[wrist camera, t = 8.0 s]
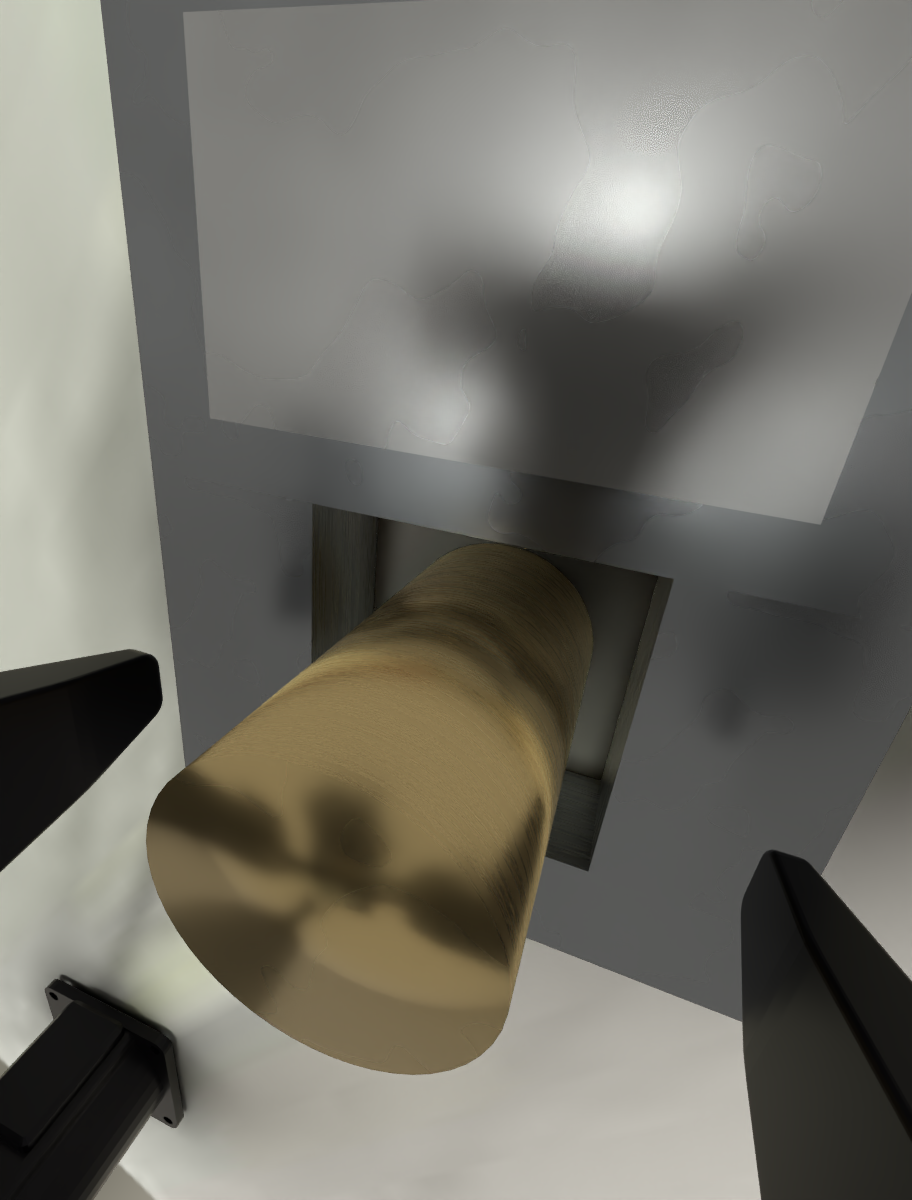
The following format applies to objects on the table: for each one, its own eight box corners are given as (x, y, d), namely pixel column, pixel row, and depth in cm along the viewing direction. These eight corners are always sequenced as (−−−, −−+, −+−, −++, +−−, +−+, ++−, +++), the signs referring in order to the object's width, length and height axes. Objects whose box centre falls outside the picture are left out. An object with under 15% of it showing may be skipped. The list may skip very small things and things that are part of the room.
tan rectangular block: (571, 740, 12) (479, 1130, 6) (401, 691, 13) (167, 976, 7) (613, 567, 10) (547, 850, 4) (414, 525, 11) (123, 703, 5)
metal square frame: (727, 904, 12) (748, 1071, 9) (258, 743, 15) (163, 830, 12) (1102, 74, 6) (1469, -177, 3) (230, 82, 9) (38, -49, 6)
